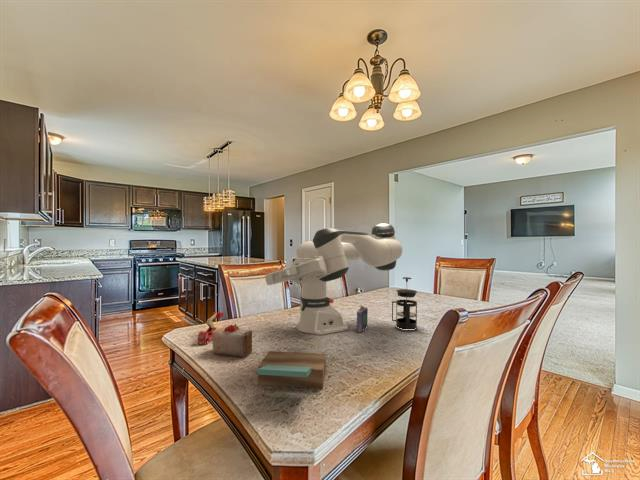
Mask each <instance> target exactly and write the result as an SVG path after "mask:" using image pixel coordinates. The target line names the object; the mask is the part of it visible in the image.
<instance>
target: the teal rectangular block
mask: <svg viewBox="0 0 640 480" xmlns="http://www.w3.org/2000/svg"><path fill="white" fill-rule="evenodd" d="M310 373H311V367H303V366H284V365H266V366H264V367H261V368H259V369H258V368H257V374H256V375H257V376H258V375H274V376H291V377H307V376H308V375H309V374H310Z"/></svg>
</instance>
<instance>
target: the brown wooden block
mask: <svg viewBox="0 0 640 480" xmlns="http://www.w3.org/2000/svg"><path fill="white" fill-rule="evenodd" d="M266 365H284V366H303V367H311V373H310V374H309V375H308V376H307V377H291V376H274V375H257V385H265V386H278V387H279V386H281V387H293V386H294V387H295V388H298V387H299V388H309V387H312V388H313V389H324V384H325V378H326V372H327V353H316V352H315V353H311V352H296V351H295V352H293V351H277V350H276V351H274V350H273V351H272V350H269V351H268V352H267V353H266V355H265V356H264V358H262V360H261V362H260V363H259V364H258V367H257V370H258V369H259V368H261V367H264V366H266Z"/></svg>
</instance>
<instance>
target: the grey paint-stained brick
mask: <svg viewBox="0 0 640 480" xmlns="http://www.w3.org/2000/svg"><path fill="white" fill-rule="evenodd" d="M211 341H212V354H213V355H222V356H224V355H225V356H231V357H232V356H233V357H236V358H237V357H240V358H241V357H242V358H247V357H249V355H250V354H252V352H253V330H251V329H243V328H240V327H238V326H237V323H235V324H234V325H233V324H230V325H228V326H226V327H217V329H216V330H214V331H213V332H212V340H211Z"/></svg>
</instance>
